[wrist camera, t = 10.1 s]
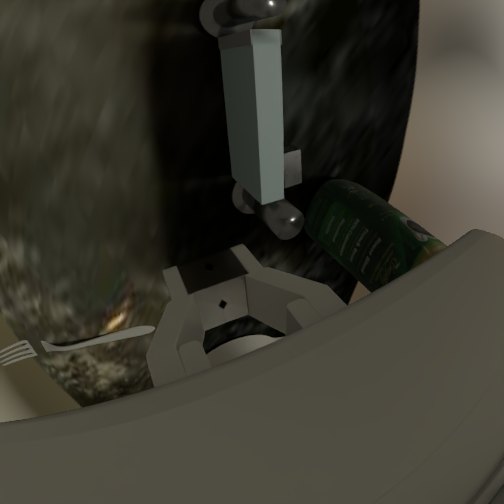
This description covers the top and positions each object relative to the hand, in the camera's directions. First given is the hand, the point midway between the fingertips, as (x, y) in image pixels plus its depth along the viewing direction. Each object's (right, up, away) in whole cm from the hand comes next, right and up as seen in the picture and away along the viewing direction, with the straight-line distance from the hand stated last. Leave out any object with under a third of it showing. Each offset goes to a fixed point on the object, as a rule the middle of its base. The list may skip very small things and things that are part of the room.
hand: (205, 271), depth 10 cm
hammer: (+2, +7, +15) cm, 17 cm away
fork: (-18, -9, +17) cm, 26 cm away
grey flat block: (0, +12, +10) cm, 16 cm away
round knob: (0, +18, +5) cm, 19 cm away
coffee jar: (+11, +6, +23) cm, 26 cm away
